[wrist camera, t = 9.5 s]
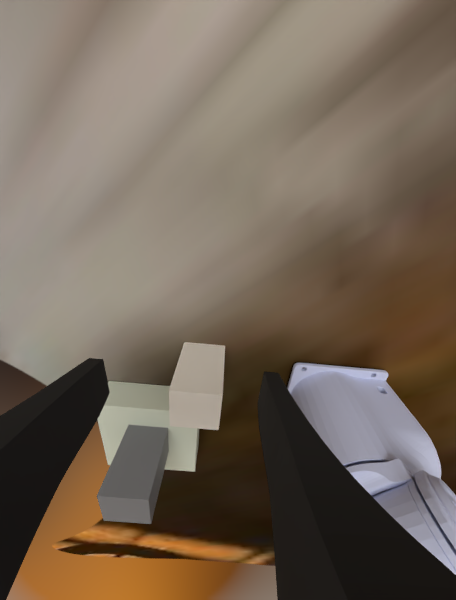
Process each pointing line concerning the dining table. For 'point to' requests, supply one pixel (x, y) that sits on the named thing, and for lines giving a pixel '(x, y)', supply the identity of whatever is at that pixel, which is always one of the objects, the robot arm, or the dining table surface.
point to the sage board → (145, 422)
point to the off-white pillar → (197, 387)
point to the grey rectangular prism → (135, 475)
